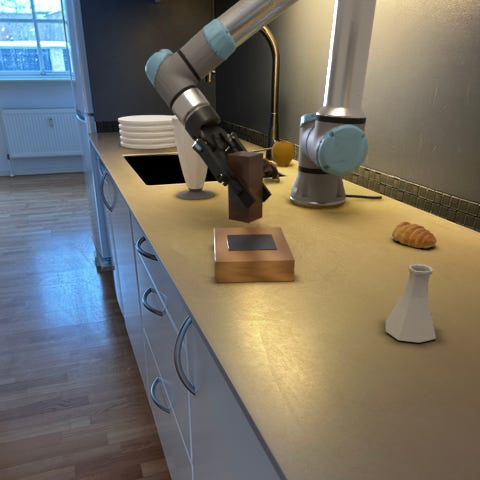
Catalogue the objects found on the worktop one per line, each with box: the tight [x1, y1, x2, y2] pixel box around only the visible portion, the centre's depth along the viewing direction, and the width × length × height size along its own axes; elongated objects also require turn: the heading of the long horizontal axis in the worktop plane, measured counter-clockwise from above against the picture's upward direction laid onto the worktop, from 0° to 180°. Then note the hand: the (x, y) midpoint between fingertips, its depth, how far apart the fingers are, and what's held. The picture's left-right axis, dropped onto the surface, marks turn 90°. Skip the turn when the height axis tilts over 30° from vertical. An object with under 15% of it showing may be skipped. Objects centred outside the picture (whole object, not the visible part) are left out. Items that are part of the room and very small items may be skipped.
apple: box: [270, 140, 295, 167], centre depth 189 cm, size 9×8×9 cm
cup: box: [172, 114, 216, 201], centre depth 144 cm, size 12×12×22 cm
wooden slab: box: [213, 226, 296, 284], centre depth 99 cm, size 14×20×4 cm
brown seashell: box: [263, 157, 281, 184], centre depth 165 cm, size 12×10×8 cm
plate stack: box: [117, 114, 177, 150], centre depth 236 cm, size 28×28×12 cm
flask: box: [384, 263, 437, 344], centre depth 72 cm, size 7×7×10 cm
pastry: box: [391, 221, 438, 249], centre depth 109 cm, size 9×7×4 cm
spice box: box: [226, 150, 264, 224], centre depth 111 cm, size 6×6×14 cm
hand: (259, 201), depth 111 cm, fingers closed on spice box, 5 cm apart
